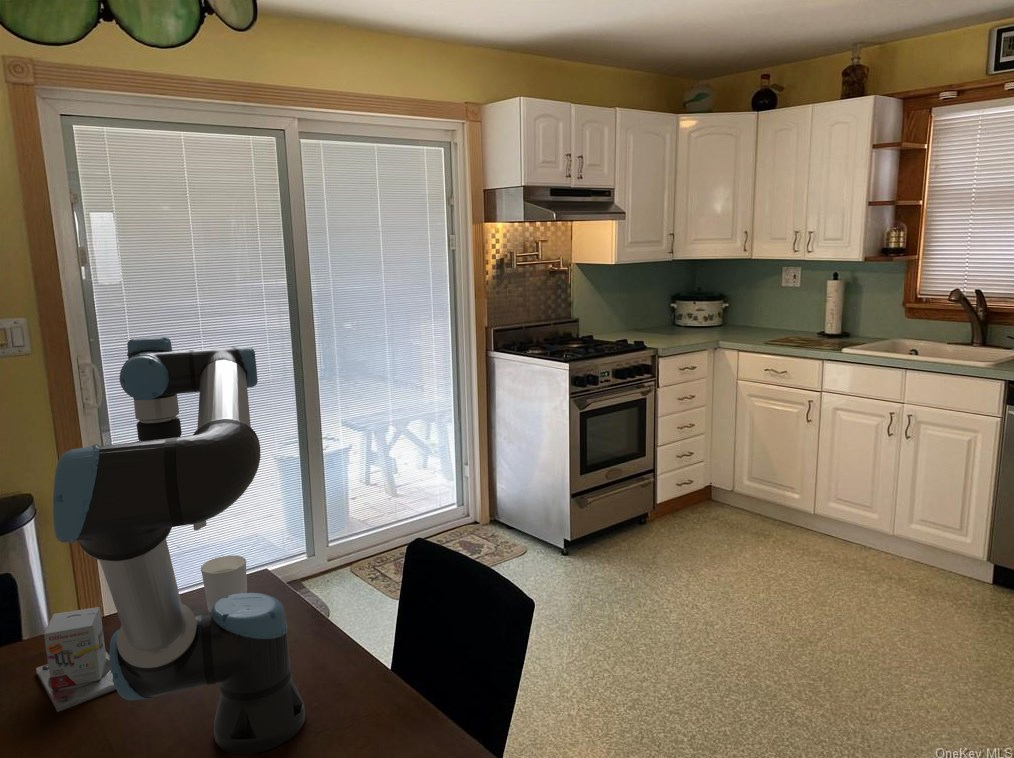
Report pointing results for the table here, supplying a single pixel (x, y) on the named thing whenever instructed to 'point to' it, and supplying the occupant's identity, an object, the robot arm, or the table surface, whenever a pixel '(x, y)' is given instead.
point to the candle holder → (224, 578)
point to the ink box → (75, 647)
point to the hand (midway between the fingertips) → (170, 525)
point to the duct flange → (76, 688)
